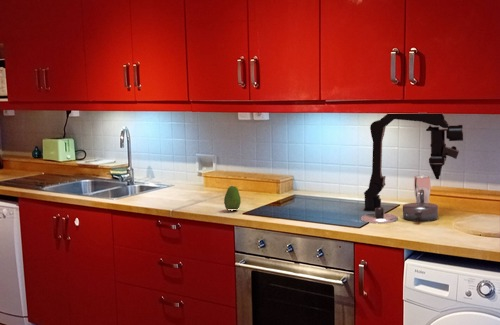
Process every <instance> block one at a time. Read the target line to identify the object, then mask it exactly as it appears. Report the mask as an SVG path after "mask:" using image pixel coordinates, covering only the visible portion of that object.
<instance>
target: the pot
mask: <svg viewBox="0 0 500 325" xmlns="http://www.w3.org/2000/svg"><path fill="white" fill-rule="evenodd" d="M402 219H404V220H405V221H409V222H415V223H416V222H420V223H423V222H424V223H425V222H432V221H436V220H438V219H439V205H438V204H435V203H431V202H429V203H416V202H409V203H405V204H403V205H402Z"/></svg>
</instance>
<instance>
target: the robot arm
mask: <svg viewBox="0 0 500 325" xmlns="http://www.w3.org/2000/svg"><path fill="white" fill-rule="evenodd" d="M394 120H399V121H400V120H401V121H411V122H421V123H425V124H428V127H427V128H426V130H425V131H427V132H430V157H429V159H428V164H429V166H430V168H431V171H432V173H433V175H434V177H435V180H440V176H441V173H442V169H443V166H444V165H445V163H446V161H447V158H448V157H451V158H452V159H455V160H456V159H457V158H458V156H459V153H460V150H458V149H457V146H455V145H452V146H451V147H450V146H447V144H446V139H447V140H448V141H449V142H461V141H462V142H463V141H464V131H463V130H464V128H463V126H464V125H463V124H457V125H456V124H454V125H450V124H449V122H447V120H446V115H445V114H444V113H443V114H388V113H387V114H386V115H384V116H383V117H382V118H380V119H378V120H375V121H373V122H372V123H371V124H370V125H369V126H370V127H369V129H370V135H371V140H372V160H371V161H372V167H371V168H372V169H371V176H370V179H369V184H368V188H367V189H366V190H365V191H364V192H363V195H364V209H363V211H375V208H376V207H382V198H381V197H380V196H381V195H380V193H381V192H382V190H383V189H384V187H385V186H386V181H385V180H386V175H383V173H382V161H383V160H382V159H383V158H382V157H383V139H384V137H385V132H386V127H387V126H388V125H389V124H390V123H392V122H393V121H394ZM440 127H441V128H440Z"/></svg>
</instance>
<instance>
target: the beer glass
mask: <svg viewBox="0 0 500 325" xmlns="http://www.w3.org/2000/svg"><path fill="white" fill-rule="evenodd" d="M413 191H414V192H413V193H414V196H415V203H430V196H431V176H430V175H415V176H413Z"/></svg>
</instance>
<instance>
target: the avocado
mask: <svg viewBox="0 0 500 325" xmlns="http://www.w3.org/2000/svg"><path fill="white" fill-rule="evenodd" d="M223 201H224V202H223V204H224V207H225V210H227V209H238V208H240V207H241V202H242V200H241V196H240V192H239V189H238V187H237V186H233V185H231V186H228V188H227V190H226V193H225V195H224V200H223ZM238 210H239V209H238Z"/></svg>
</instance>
